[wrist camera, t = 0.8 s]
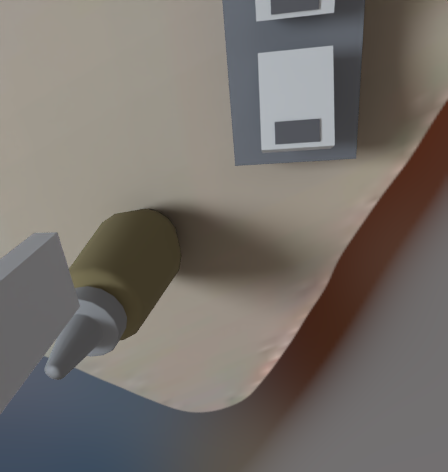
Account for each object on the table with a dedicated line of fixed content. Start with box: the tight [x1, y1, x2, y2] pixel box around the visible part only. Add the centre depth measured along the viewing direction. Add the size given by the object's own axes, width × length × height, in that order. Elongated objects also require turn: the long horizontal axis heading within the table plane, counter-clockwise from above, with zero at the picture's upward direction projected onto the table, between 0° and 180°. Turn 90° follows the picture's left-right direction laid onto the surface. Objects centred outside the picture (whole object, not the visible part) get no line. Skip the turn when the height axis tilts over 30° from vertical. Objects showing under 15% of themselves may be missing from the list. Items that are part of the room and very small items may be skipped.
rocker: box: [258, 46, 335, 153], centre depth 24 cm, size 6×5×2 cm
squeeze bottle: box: [45, 209, 181, 380], centre depth 29 cm, size 8×8×18 cm
